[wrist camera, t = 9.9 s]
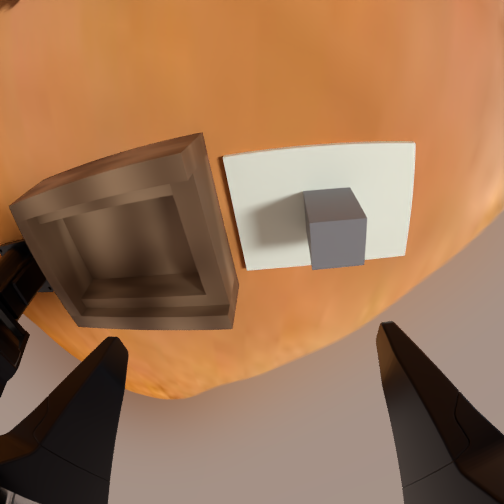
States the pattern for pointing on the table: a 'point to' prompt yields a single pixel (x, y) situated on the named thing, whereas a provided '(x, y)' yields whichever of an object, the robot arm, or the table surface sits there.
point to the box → (135, 240)
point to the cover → (322, 203)
